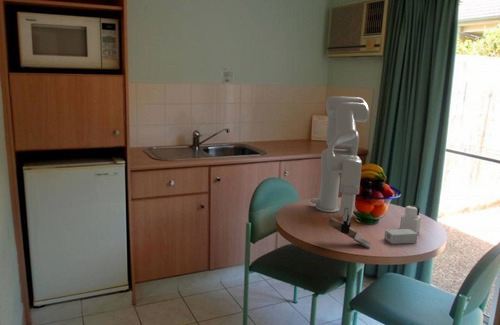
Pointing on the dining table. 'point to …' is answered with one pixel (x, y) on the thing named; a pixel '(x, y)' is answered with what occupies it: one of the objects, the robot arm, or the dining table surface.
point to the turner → (352, 232)
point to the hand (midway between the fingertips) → (345, 231)
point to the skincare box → (400, 236)
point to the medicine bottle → (411, 218)
